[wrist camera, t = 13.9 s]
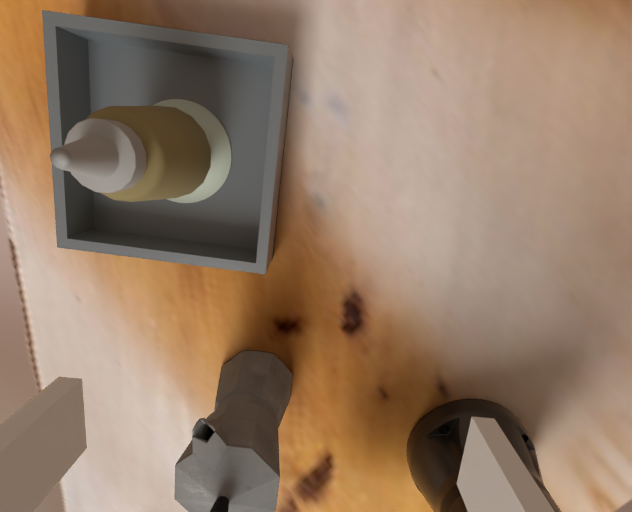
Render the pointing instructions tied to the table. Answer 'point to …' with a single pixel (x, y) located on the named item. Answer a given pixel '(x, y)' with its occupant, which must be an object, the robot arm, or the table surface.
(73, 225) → the bin
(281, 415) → the coffeepot
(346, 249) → the table surface
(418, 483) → the robot arm
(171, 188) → the squeeze bottle
